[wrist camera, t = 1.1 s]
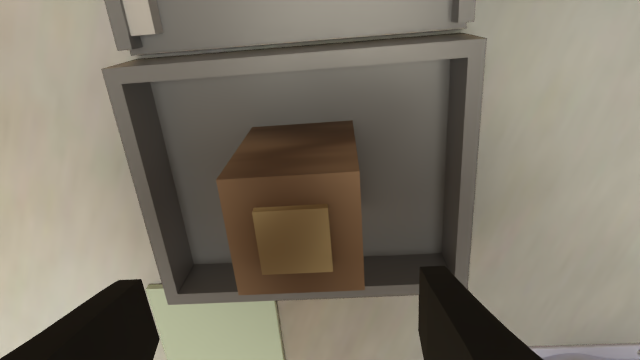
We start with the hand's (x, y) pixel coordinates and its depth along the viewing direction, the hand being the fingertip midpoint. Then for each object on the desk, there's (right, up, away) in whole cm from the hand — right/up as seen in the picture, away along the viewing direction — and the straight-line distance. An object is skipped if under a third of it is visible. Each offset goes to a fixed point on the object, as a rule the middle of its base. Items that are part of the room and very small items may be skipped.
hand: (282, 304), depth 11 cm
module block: (0, +4, +9) cm, 9 cm away
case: (0, +4, +9) cm, 10 cm away
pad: (-5, -6, +13) cm, 15 cm away
